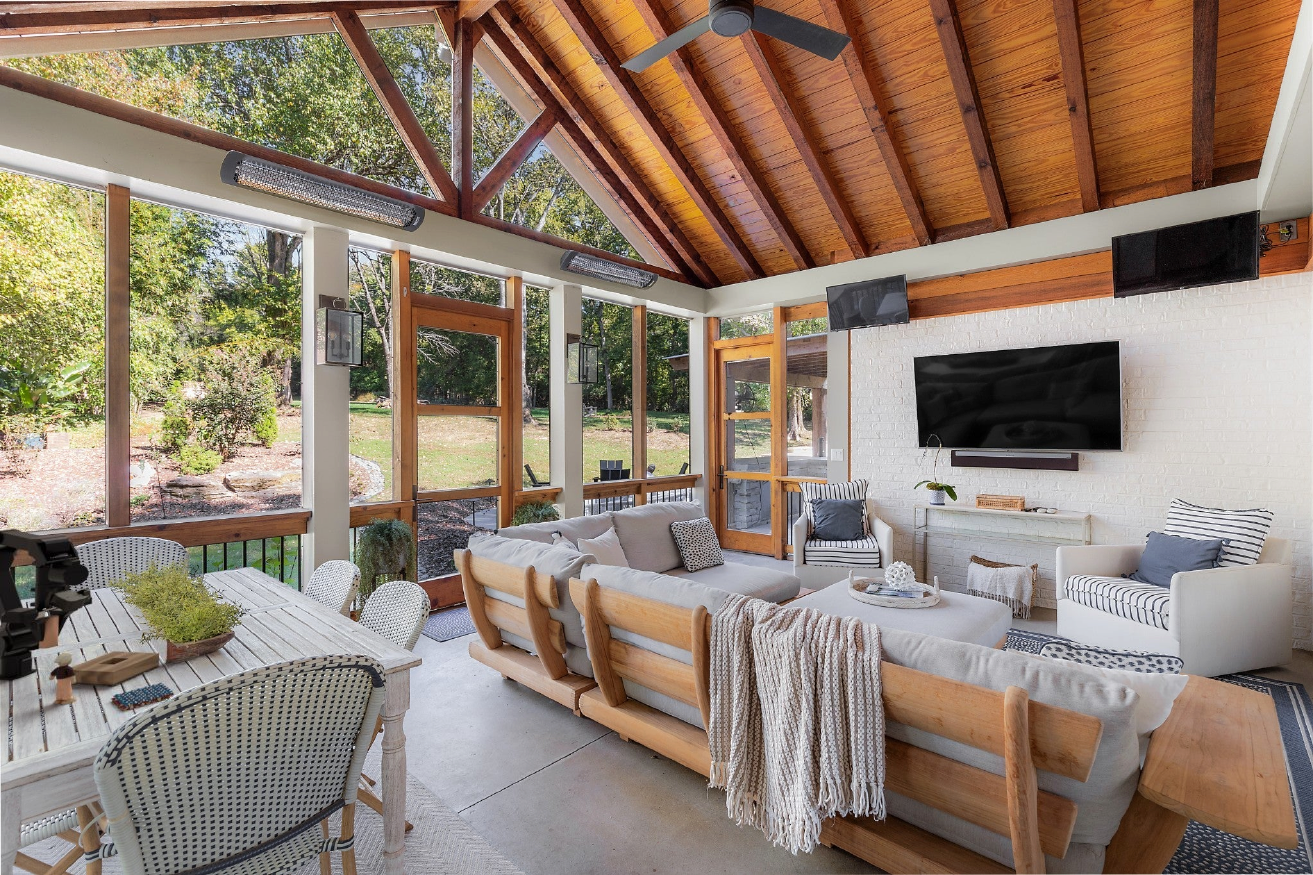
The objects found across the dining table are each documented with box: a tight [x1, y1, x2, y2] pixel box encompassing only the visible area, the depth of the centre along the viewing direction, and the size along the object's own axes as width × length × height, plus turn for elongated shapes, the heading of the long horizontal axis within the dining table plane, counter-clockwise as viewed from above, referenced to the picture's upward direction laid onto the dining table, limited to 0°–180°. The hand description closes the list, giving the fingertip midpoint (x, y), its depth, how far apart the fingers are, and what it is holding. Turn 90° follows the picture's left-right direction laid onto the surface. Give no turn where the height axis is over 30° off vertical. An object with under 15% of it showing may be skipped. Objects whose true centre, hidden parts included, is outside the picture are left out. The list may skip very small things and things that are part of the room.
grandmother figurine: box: [48, 651, 77, 705], centre depth 151 cm, size 8×4×13 cm, turn 92°
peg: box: [39, 615, 59, 650], centre depth 162 cm, size 4×4×8 cm
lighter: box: [165, 637, 200, 665], centre depth 180 cm, size 8×3×10 cm, turn 141°
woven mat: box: [110, 682, 175, 712], centre depth 153 cm, size 10×11×2 cm
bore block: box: [71, 650, 160, 688], centre depth 167 cm, size 14×14×4 cm
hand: (48, 638), depth 162 cm, fingers closed on peg, 4 cm apart
